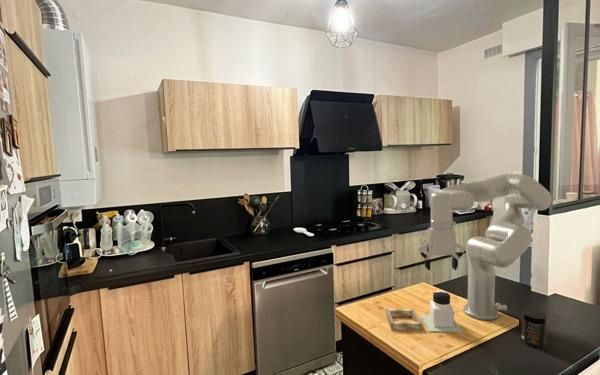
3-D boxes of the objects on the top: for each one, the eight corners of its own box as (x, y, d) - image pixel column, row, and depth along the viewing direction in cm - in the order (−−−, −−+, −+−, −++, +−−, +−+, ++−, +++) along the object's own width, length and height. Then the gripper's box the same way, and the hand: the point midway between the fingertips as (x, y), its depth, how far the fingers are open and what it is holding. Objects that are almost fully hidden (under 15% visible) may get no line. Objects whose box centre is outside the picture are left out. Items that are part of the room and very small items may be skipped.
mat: (450, 316, 131) (450, 315, 131) (462, 332, 119) (462, 331, 119) (420, 315, 132) (420, 315, 132) (429, 331, 120) (429, 330, 120)
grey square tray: (413, 315, 133) (413, 309, 132) (421, 330, 121) (421, 323, 121) (385, 314, 134) (385, 309, 133) (391, 329, 122) (390, 323, 122)
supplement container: (549, 350, 107) (550, 320, 106) (526, 347, 109) (527, 317, 108) (540, 338, 113) (541, 310, 112) (518, 336, 115) (519, 308, 114)
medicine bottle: (453, 328, 121) (454, 297, 120) (433, 327, 122) (434, 296, 121) (448, 318, 128) (448, 289, 127) (429, 317, 129) (429, 288, 128)
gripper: (461, 222, 124) (460, 265, 126) (415, 223, 126) (415, 265, 128) (469, 226, 117) (468, 272, 119) (420, 227, 118) (420, 272, 120)
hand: (441, 268), depth 123 cm, fingers open, 9 cm apart
